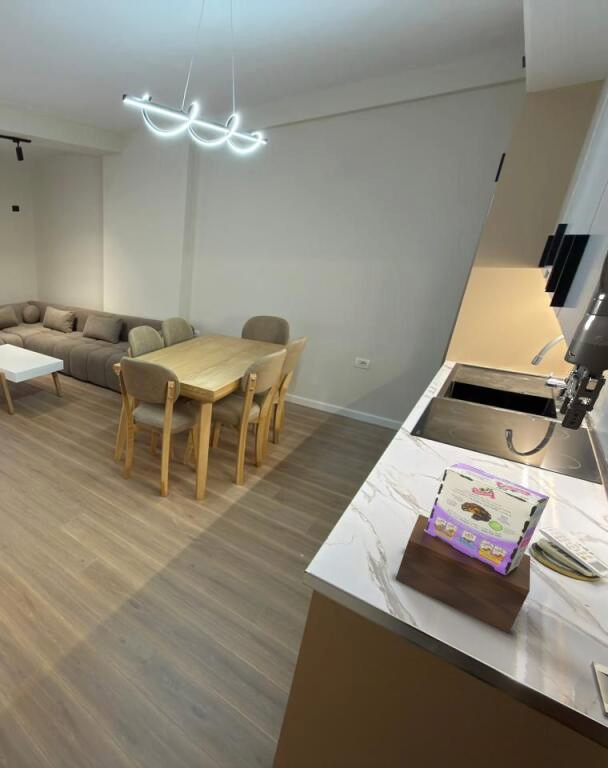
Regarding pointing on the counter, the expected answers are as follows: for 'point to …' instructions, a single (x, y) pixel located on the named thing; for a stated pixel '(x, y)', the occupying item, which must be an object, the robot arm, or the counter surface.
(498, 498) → the candy box
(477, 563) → the walnut wooden block
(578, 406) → the robot arm
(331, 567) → the counter surface
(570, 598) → the counter surface
